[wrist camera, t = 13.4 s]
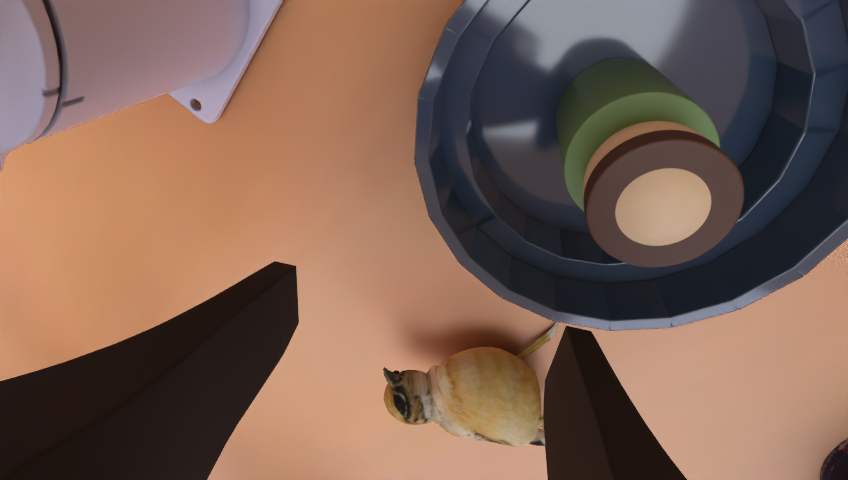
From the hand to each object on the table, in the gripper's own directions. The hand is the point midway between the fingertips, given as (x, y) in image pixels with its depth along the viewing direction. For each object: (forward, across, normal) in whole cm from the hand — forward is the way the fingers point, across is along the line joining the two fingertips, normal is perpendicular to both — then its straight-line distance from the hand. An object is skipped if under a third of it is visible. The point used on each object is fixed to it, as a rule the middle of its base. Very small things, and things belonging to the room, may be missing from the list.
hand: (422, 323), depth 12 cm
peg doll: (+9, -5, -4) cm, 11 cm away
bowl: (+9, -5, -4) cm, 11 cm away
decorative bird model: (+10, -4, +12) cm, 16 cm away
